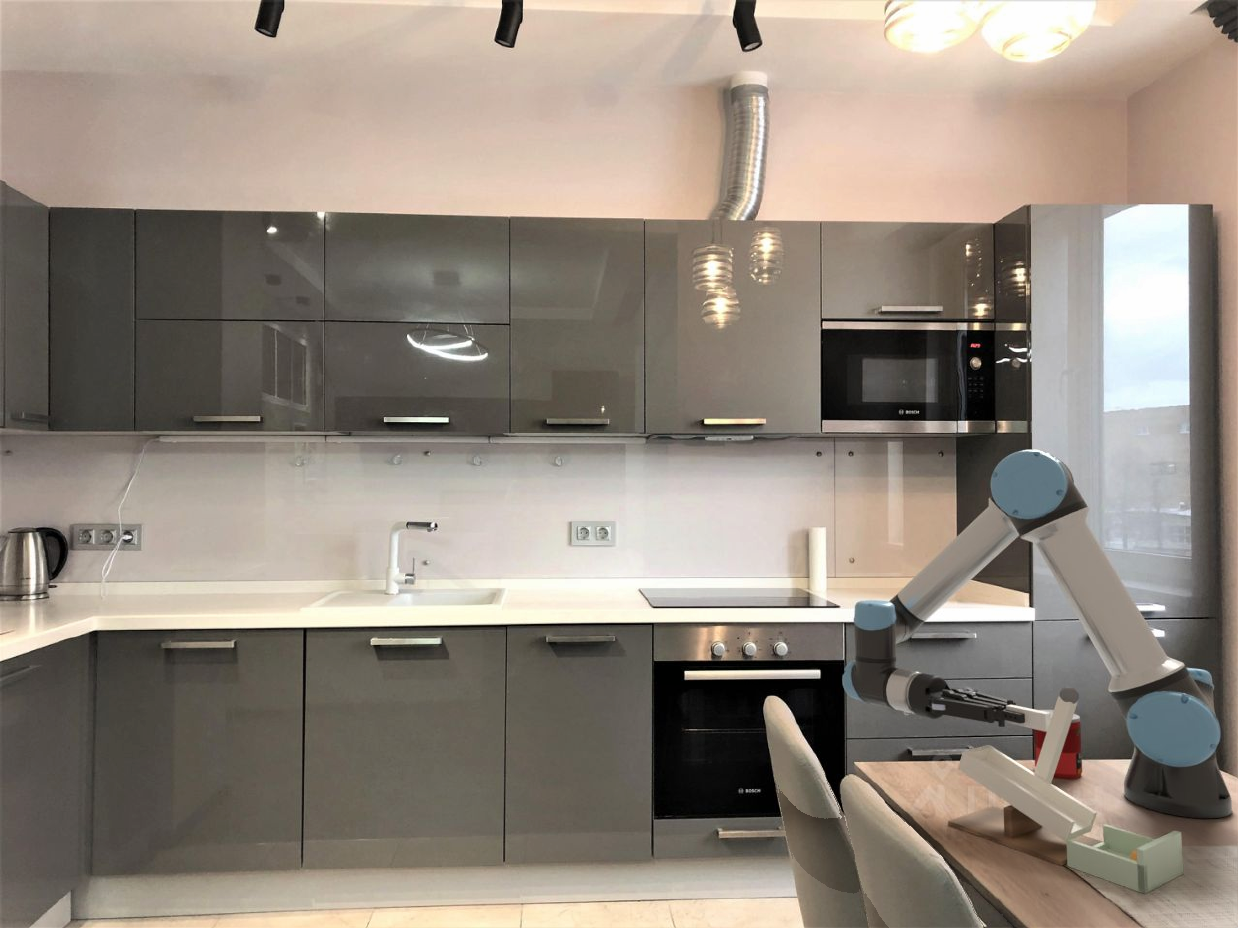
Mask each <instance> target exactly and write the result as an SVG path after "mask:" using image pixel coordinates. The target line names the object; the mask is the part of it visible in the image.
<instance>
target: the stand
mask: <svg viewBox="0 0 1238 928" xmlns="http://www.w3.org/2000/svg"><path fill="white" fill-rule="evenodd" d="M947 825H948V826H950V827H953V828H956V829H958V830H961V831H964V832H967V833H970V834H972V835H975V836H978V837H980V838H984V839H987V840H989V841H992V842H994V843H998V844H1000V845H1003V846H1006V847H1009V848H1010V849H1014V850H1017V851H1019V852H1021V853H1025V854H1028V855H1031V856H1034V857H1036V858H1039V859H1042V860H1045V861H1047V862H1049V863H1053V864H1056V865H1058V866H1061V867H1063V866H1065V865H1067V841H1066V842H1065V841H1064V840H1062V839H1061V838H1059V837H1058V836H1056V835H1055V834H1053V833H1052V832H1050V831H1049V830H1047V829H1046V828H1044V827H1043V826H1041V825H1040V824H1038V823H1037V822H1035V821H1034V820H1032V819H1031V818H1029V817H1028V816H1027V815H1025V814H1024V813H1022V812H1021V811H1019V810H1018V809H1016V808H1015V807H1013V806H1012V805H1010V804H1009V805H1007V806H1004V807H1003V808H999V807H997V806H994V805H991V806H988V807H985V808H982V809H979V810H977V811H973V812H971V813H968V814H964V815H962V816H958V817H955V818H953V819H950V820H948V821H947ZM1071 840H1073V841H1076V842H1079V843H1082V844H1085V845H1088V846H1091V847H1092V846H1094V845H1096V844H1099V843H1101V842H1103V841H1104V840H1103V841H1102V840H1100V839H1099V840H1098V839H1097V838H1094V837H1090V836H1087V835H1085V834H1083V835H1081V836H1078V837H1076V838H1074V839H1071Z"/></svg>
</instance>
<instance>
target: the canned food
mask: <svg viewBox="0 0 1238 928" xmlns="http://www.w3.org/2000/svg"><path fill="white" fill-rule="evenodd" d="M1038 710H1039V711H1044V712H1049V713H1051V718H1052V715H1053V711H1054V709H1038ZM1081 728H1082V727H1081V717H1080V715H1078V714H1076V713H1074V715H1073V718H1072V721H1071V724H1070V727H1069V730H1068V733H1067V736H1066V740H1065V743H1064V746H1063V749H1062V752H1061V755H1060V758H1059V761H1058V764H1057V767H1056V770H1055V773H1054V776H1053V779H1054V778H1057V779H1063V780H1064V779H1065V780H1073V779H1074V780H1075V779H1078V778H1080V777H1081V776H1082V774H1083V757H1082V755H1083V754H1082V729H1081ZM1046 733H1047V732H1045V731H1041V730H1036V729H1033V749H1034V750H1033V751H1034V755H1033V756H1034V766H1035V768H1036V765H1037V762H1038V758H1039V755H1040V752H1041V749H1042V746H1043V743H1044V740H1045V736H1046Z"/></svg>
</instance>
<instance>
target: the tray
mask: <svg viewBox="0 0 1238 928" xmlns="http://www.w3.org/2000/svg"><path fill="white" fill-rule="evenodd" d="M1102 835H1103V836H1102V838H1103V842H1101V843H1099V844H1096V845H1094V846H1092V847H1091V846H1088V845H1085V844H1082V843H1079V842H1076V841H1073V840H1070V839H1069V840H1067V864H1066V865H1067V867H1069V868H1072V869H1074V868H1075V870H1076V871H1077V870H1078V871H1080V872H1083V873H1086V874H1088V875H1092V876H1094V877H1096V878H1099V877H1100V879H1102V878H1103V879H1102V880H1105V881H1107V882H1110V881H1111V883H1113V884H1116V885H1119V886H1122V887H1124V886H1125V888H1128V889H1130V890H1133V891H1136V892H1139V893H1141V894H1143V895H1144V894H1145V895H1146V894H1148V893H1150V892H1151V891H1154V890H1156V889H1157V888H1159V887H1160V886H1163V885H1165V884H1167V883H1168V882H1170V881H1172V880H1173V879H1175V878H1177V877H1179V876H1181V875H1183V874H1184V866H1183V865H1184V864H1183V844H1182V843H1183V842H1182V839H1183V838H1182V832H1181V831H1178V830H1173V831H1170V832H1169V833H1167V834H1165V835H1162V836H1160V837H1158V838H1152V837H1150V836H1146V835H1144V834H1143V835H1142V834H1139V833H1135V832H1132V831H1129V830H1126V829H1124V828H1123V829H1122V828H1119V827H1117V826H1114V825H1110V824H1107V823H1105V824H1103V825H1102ZM1136 849H1137V861H1134V860H1131V859H1130V856H1131V853H1132V852H1133V851H1134V850H1136Z"/></svg>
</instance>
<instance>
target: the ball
mask: <svg viewBox="0 0 1238 928" xmlns="http://www.w3.org/2000/svg"><path fill="white" fill-rule="evenodd" d="M1130 859H1131V860H1134V861H1137V849H1136V850H1134V851H1133V852H1132V853H1131V856H1130Z"/></svg>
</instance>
